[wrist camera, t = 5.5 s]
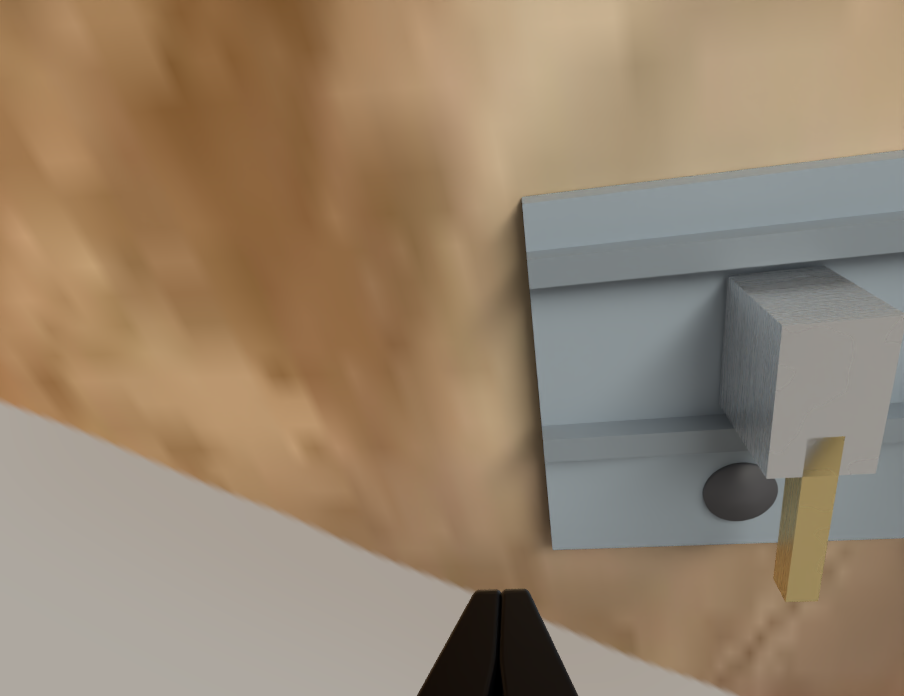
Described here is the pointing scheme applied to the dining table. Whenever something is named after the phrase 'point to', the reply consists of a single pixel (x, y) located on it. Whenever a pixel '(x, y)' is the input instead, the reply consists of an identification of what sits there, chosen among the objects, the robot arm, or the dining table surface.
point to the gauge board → (693, 345)
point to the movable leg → (807, 397)
